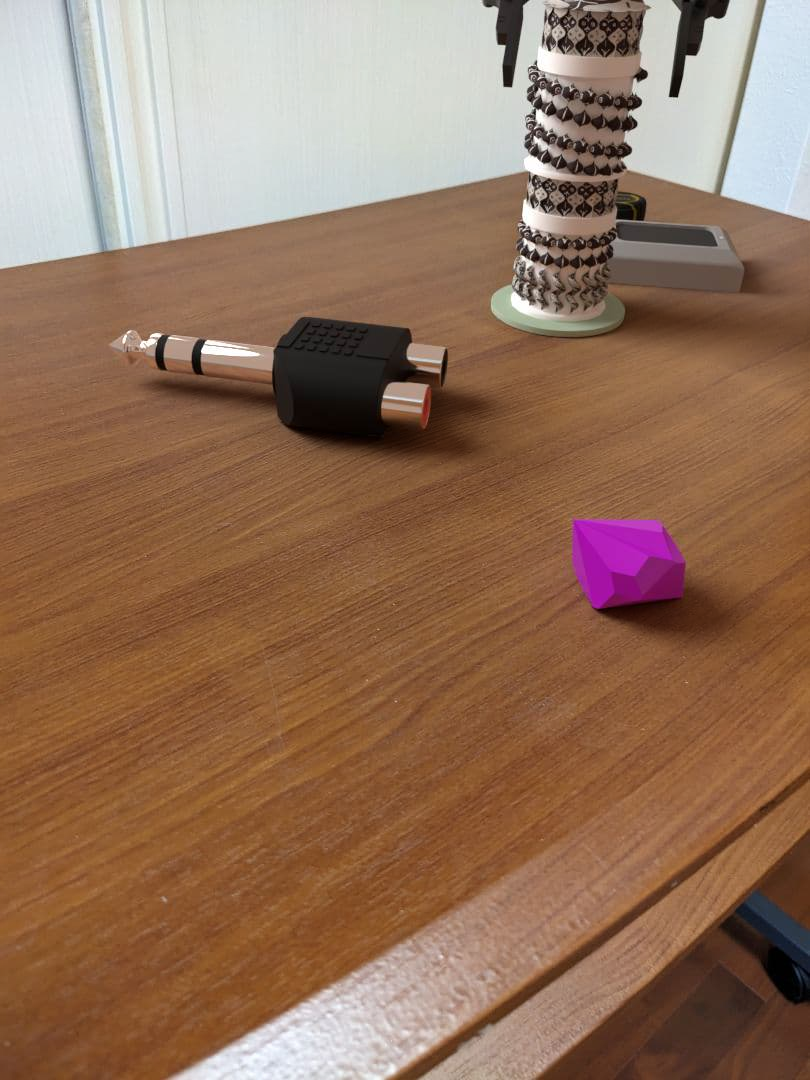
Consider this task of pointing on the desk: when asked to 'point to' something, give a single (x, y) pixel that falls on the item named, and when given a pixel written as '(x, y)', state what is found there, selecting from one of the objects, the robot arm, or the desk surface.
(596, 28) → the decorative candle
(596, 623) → the desk surface
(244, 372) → the audio adapter
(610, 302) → the coaster
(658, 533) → the crystal
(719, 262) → the grey device with screen
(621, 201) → the tape measure
